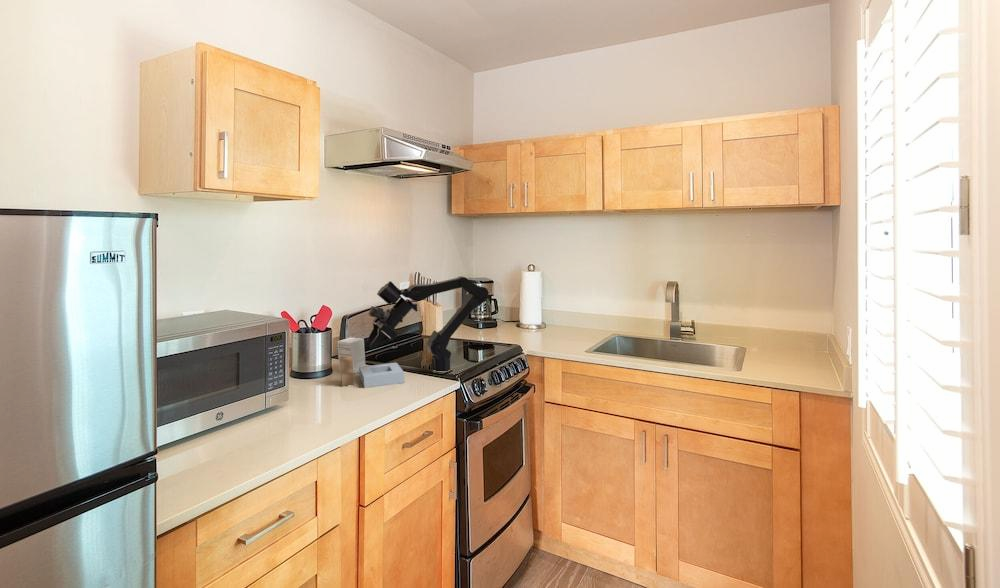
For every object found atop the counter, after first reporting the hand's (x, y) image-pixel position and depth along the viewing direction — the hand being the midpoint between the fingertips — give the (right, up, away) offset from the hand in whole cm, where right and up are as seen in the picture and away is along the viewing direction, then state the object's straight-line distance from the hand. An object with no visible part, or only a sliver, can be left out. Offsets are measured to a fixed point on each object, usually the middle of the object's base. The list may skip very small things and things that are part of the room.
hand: (368, 345), depth 174 cm
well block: (+4, -13, +3) cm, 14 cm away
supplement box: (-11, -12, +16) cm, 23 cm away
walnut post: (-7, -14, -1) cm, 16 cm away
